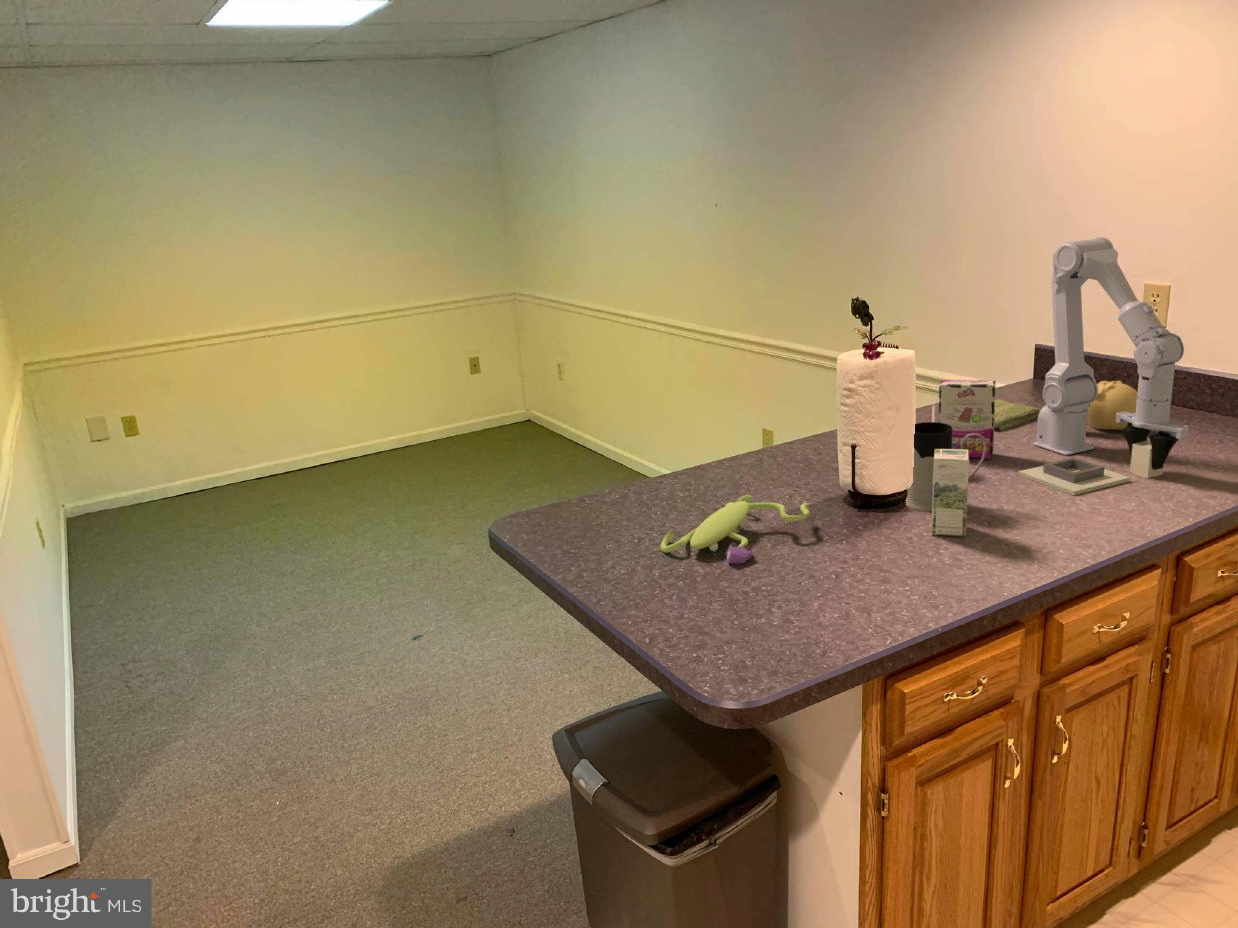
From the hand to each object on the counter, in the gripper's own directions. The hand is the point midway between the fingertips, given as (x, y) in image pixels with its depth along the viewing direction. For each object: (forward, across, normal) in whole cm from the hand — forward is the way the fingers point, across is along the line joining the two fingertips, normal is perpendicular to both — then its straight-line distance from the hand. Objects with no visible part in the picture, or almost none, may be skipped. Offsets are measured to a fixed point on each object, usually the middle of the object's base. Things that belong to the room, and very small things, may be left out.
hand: (1147, 465), depth 183 cm
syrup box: (+2, +3, -50) cm, 50 cm away
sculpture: (+2, -26, +19) cm, 32 cm away
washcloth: (+2, -45, +4) cm, 45 cm away
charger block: (+2, 0, 0) cm, 2 cm away
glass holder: (+2, -8, -42) cm, 43 cm away
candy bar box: (+2, -28, -20) cm, 34 cm away
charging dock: (+2, -6, -13) cm, 14 cm away
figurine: (+2, -14, -83) cm, 84 cm away
